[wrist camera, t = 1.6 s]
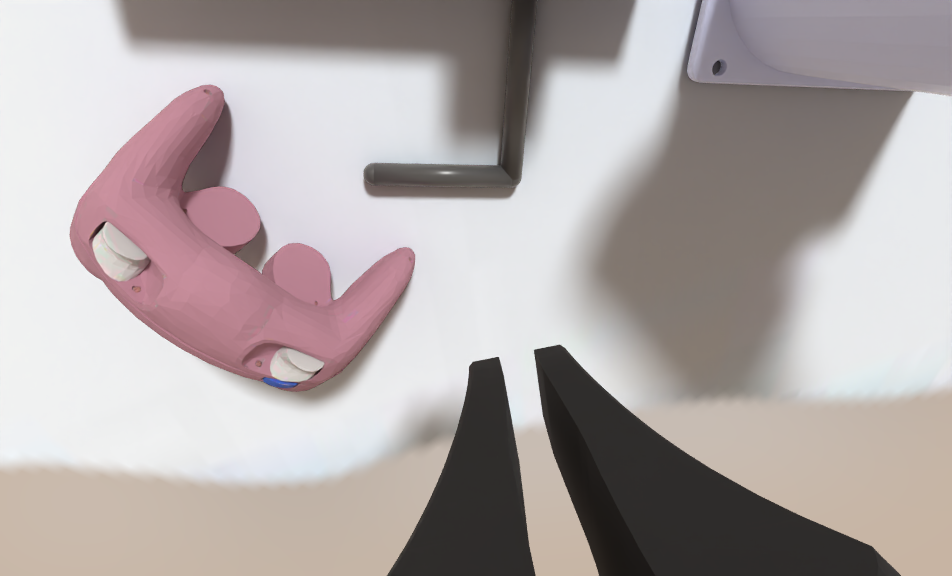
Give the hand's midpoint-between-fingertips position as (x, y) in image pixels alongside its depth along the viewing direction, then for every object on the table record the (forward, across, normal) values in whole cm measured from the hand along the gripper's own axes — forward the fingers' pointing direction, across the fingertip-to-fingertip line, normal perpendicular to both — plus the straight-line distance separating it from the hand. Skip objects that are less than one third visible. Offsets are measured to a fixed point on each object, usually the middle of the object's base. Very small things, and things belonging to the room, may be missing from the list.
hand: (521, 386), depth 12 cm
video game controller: (+10, +8, -2) cm, 12 cm away
